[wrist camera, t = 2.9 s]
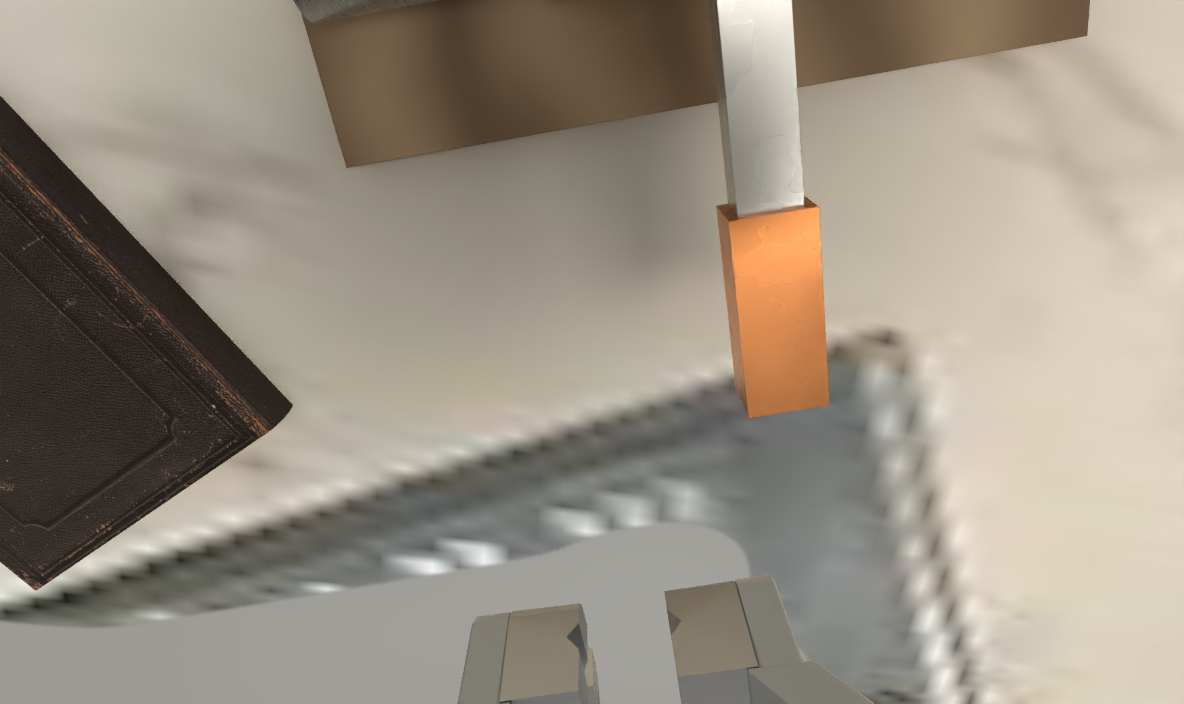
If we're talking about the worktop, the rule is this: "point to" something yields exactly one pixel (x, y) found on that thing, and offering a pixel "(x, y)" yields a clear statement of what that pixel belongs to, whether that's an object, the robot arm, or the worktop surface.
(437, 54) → the mount board
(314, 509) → the worktop surface
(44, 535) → the hardcover book
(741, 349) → the valve lever
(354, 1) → the valve body
